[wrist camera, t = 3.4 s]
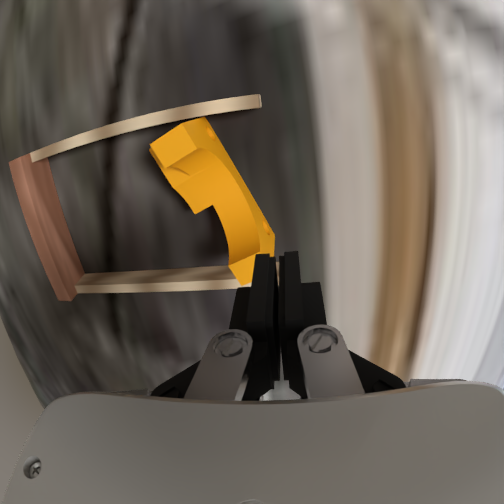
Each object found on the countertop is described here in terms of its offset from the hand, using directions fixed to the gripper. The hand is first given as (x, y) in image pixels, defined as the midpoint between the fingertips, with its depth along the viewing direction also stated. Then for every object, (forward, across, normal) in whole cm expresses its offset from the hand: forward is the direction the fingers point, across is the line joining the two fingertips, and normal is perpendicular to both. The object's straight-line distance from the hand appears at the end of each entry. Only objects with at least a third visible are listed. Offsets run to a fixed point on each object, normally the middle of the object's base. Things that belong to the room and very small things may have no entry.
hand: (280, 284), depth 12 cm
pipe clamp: (+15, +5, 0) cm, 16 cm away
